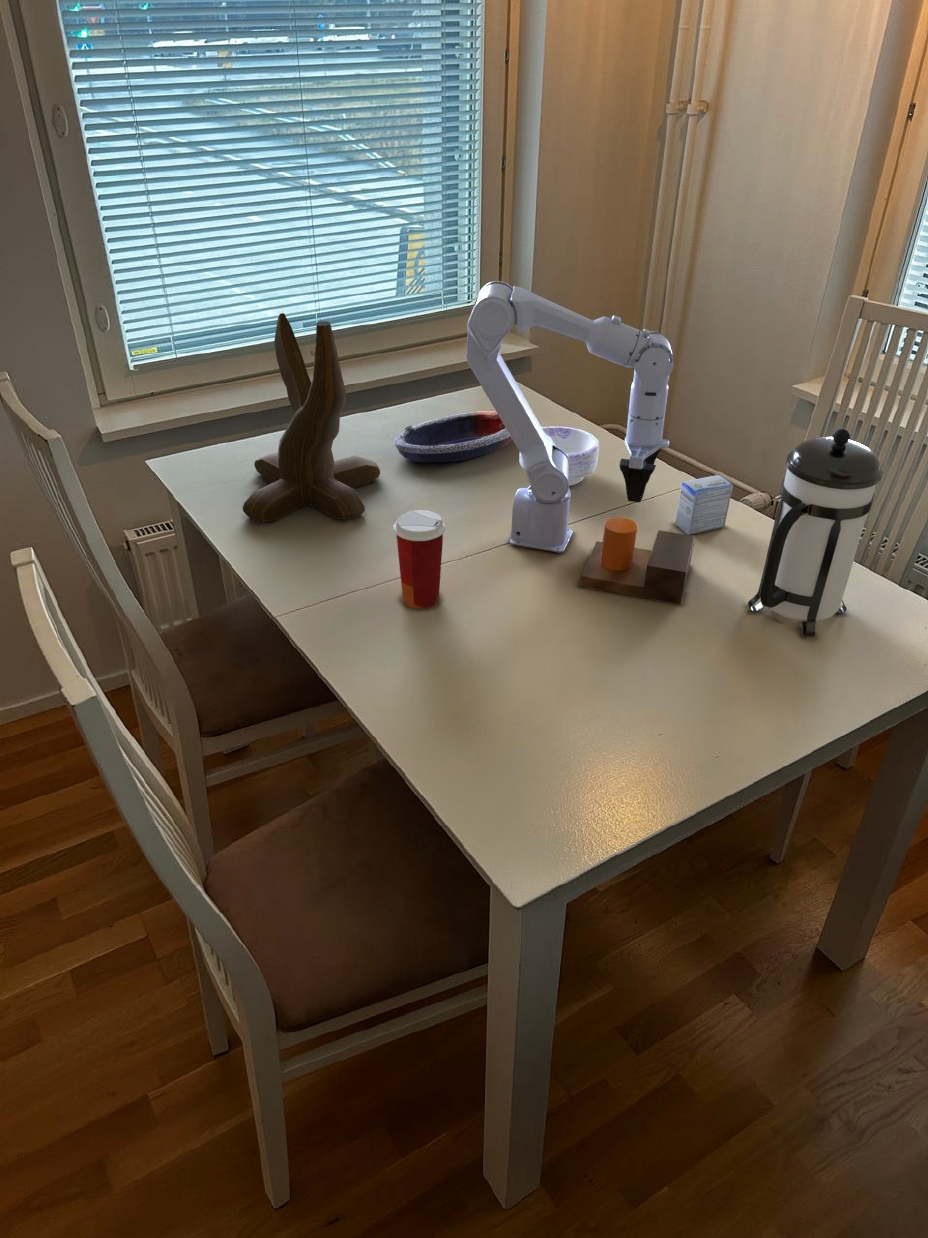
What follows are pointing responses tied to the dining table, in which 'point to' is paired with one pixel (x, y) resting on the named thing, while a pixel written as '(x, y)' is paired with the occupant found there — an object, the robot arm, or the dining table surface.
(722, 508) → the medicine box
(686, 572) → the shelf riser
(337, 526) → the dining table surface
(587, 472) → the paper bowls
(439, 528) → the paper cup
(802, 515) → the coffee press
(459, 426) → the dish
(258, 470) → the wooden stand
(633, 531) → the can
